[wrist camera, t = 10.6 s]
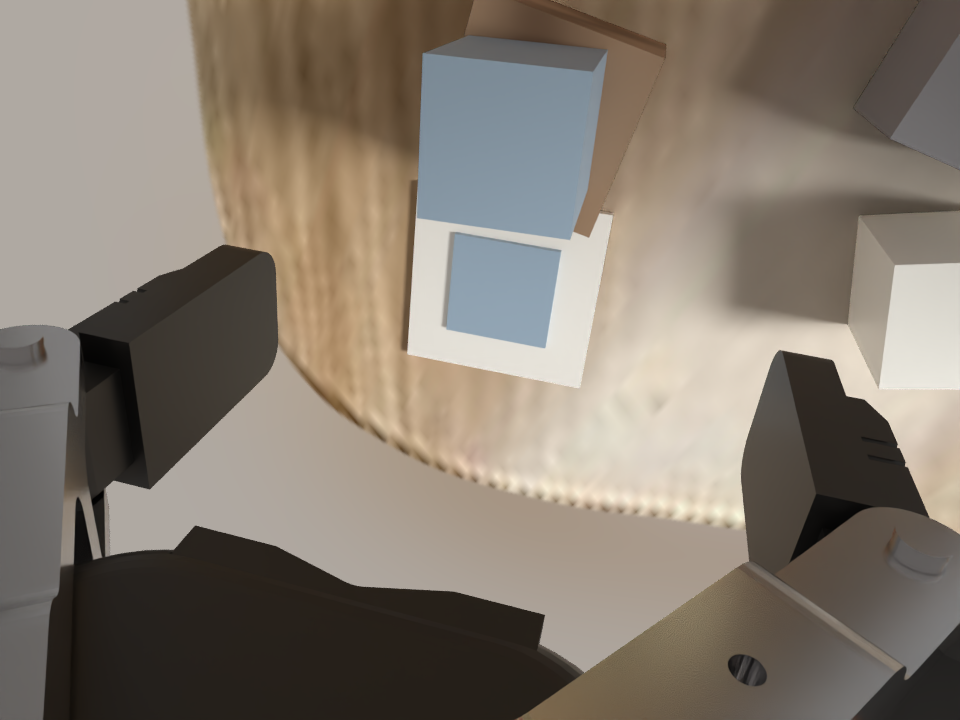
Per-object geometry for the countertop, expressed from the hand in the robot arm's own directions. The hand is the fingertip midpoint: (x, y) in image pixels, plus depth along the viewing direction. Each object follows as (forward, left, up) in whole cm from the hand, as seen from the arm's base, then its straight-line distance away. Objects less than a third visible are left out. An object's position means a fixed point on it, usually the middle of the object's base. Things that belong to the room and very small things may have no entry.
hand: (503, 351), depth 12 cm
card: (+3, +9, -23) cm, 25 cm away
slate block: (+3, 0, -18) cm, 19 cm away
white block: (-14, +5, -23) cm, 28 cm away
